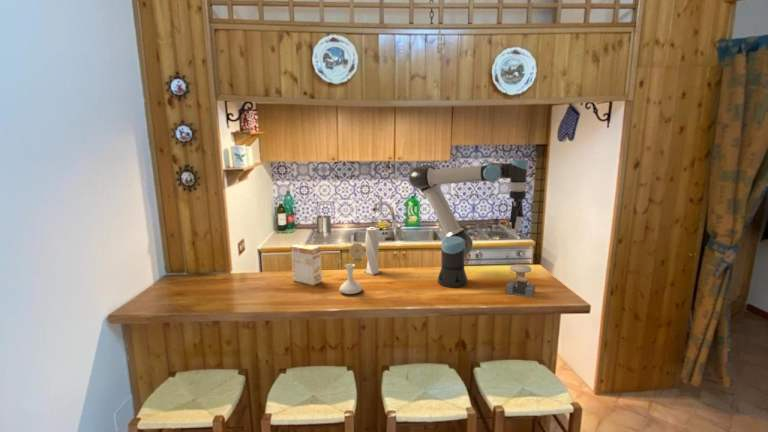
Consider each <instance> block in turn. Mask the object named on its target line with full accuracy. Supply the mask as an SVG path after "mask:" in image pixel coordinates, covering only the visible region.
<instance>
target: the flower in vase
mask: <svg viewBox="0 0 768 432" xmlns="http://www.w3.org/2000/svg"><path fill="white" fill-rule="evenodd" d="M349 254H350V256H351V257H352V258H353V259H352V261H351V260H348V259H347V258H346V259H344V260H345V261H346V262H349V263H346V264H345V265H344V267H345V268H346V269H347V279H346V281H344V282H343V283H342V284H341V285H340V287H339V289H338V290H339V292H340V293H343V294H347V295H353V294H355V295H356V294H358V293H360V292H361V291H362V290H363V286H362V285H361V284H360V283H359V282H358V281H356V280H354V277H353V275H354V274H353V272H354V268H355V266H356V264H355V263H354V261H355V262H357V263H360V262H362V261H363V259H362V257H364V256H365V254H366V248H364V246H363V244H362V243H359V242H354V243H353V244H352V245H350V247H349Z"/></svg>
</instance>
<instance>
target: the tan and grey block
mask: <svg viewBox="0 0 768 432" xmlns="http://www.w3.org/2000/svg"><path fill="white" fill-rule="evenodd" d="M528 280H529V279H528V277H527V276H525V277H518V279H517V293H520V294H525V290H526V287H527V282H528Z"/></svg>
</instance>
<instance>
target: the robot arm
mask: <svg viewBox="0 0 768 432" xmlns="http://www.w3.org/2000/svg"><path fill="white" fill-rule="evenodd" d="M527 173H528V160H526V158H525V159H524V158H523V159H522V158H513V159H511V160H510V162H509V163H508V162H507V163H506V162H505V163H503V162H490V163H489V162H488V163H487V164H486V165H475V166H473V165H472V166H464V167H463V166H462V167H461V166H460V167H451V168H450V167H449V168H438V169H437V168H436V167H435V166H434V165H431V164H423V165H420V166H416V167H414V168H412V169H411V170H410V171H409V174H408V181H409V184H410V185H411V186H412V187H414V188H416V189H420V192H421V194H424V195H425V196H426V198H427V200H428V202H429V204H430V206H431V208H432V209H433V212H434V213H435V216H436V217H437V220H438V222H439V224H440V226H441V228H442V230H443V233H444V238H443V239H442V240H441V245H440V246H441V268H440V271H439V273H438V276H437V284H439V285H440V286H443V287H444V288H445V287H446V288H462V287H465V286H466V285H468V276H467V273H466V271H465V257H466V256H467V255H468V254H469V253H470V252H471V250H472V248H473V242H474V241H473V238H472V237H471V236H470V235H469V233H466V230H465V228H463V227H461V226H460V225H459V223H458V221H457V219H456V216H455V215H454V213H453V210H452V209H451V207H450V205H449V203H448V201H447V199H446V197H445V195H444V192H443V191H442V189H441V185H443V184H445V185H446V184H447V185H448V184H462V183H476V182H477V183H478V182H496V181H498V180H499V179H509V180H510V183H509V190H510V191H509V198H510V199H513V201H512V202H511V211H510V217H509V218H510V219H509V220H508V222H509V223H510V228H509V229H510V230H509V232H510V233H509V234H510V236H516V235H517V230H522V222H523V218H524V216H525V214H524V209H523V207H524V206H523V200H525V199H526V195H527V192H526V189H527V186H528V184H527V176H528V174H527Z"/></svg>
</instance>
